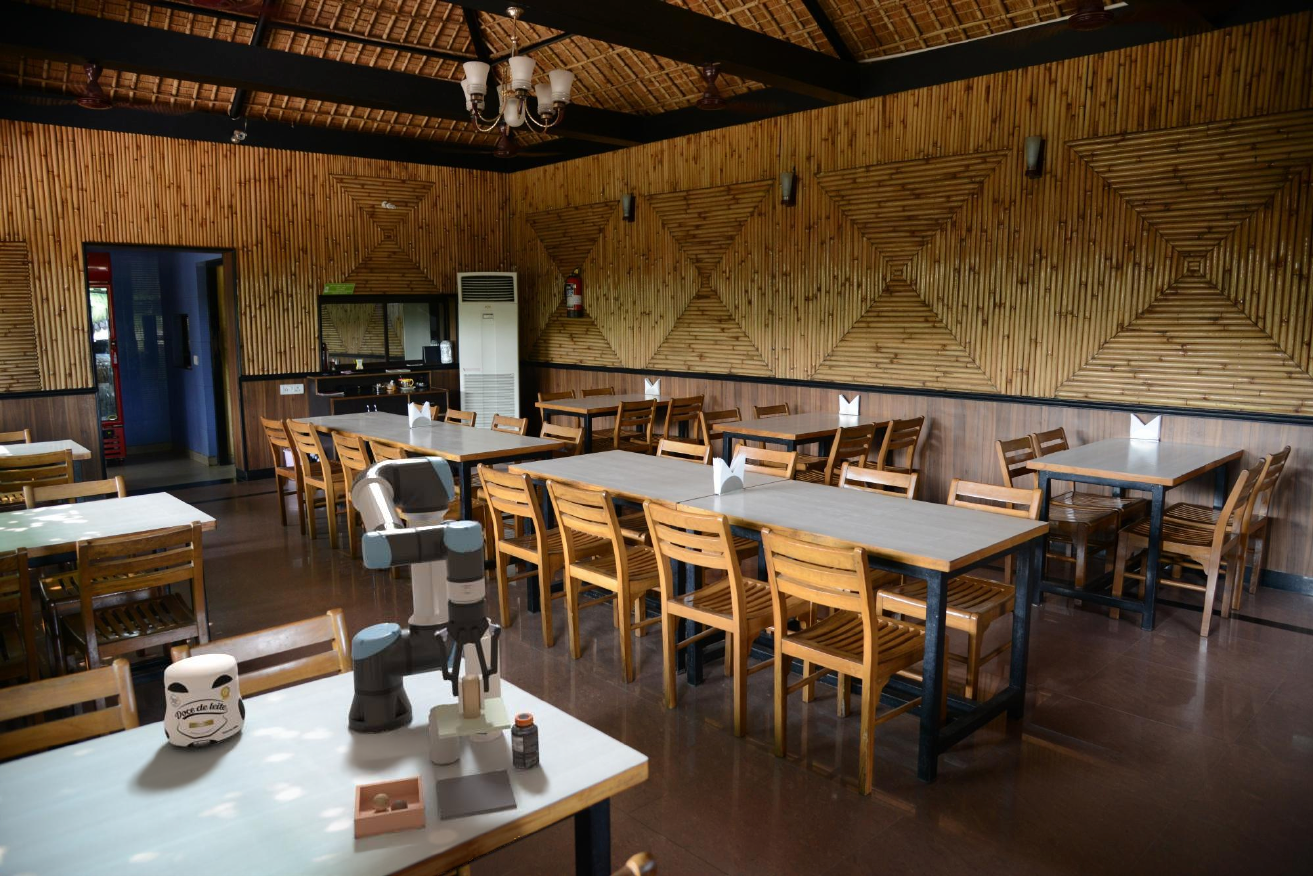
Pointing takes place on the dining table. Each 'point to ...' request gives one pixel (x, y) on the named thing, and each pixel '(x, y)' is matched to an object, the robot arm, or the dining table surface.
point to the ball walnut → (399, 805)
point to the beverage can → (441, 743)
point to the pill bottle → (525, 742)
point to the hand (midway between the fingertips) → (471, 708)
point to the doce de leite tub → (203, 701)
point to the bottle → (474, 669)
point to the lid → (471, 713)
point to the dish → (389, 807)
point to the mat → (475, 794)
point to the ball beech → (380, 802)
